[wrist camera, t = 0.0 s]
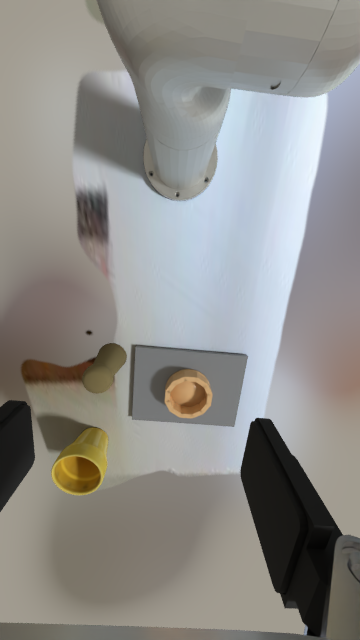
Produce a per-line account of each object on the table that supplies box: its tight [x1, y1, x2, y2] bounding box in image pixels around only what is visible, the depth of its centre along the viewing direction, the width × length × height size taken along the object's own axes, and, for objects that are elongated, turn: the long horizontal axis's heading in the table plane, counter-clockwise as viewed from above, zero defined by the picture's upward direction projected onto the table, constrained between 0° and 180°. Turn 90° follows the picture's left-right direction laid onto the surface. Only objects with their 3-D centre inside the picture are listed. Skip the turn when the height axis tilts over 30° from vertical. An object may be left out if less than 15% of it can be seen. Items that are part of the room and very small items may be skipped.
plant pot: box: [51, 427, 108, 495], centre depth 49 cm, size 10×10×10 cm
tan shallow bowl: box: [165, 369, 213, 418], centre depth 48 cm, size 10×10×3 cm
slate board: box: [132, 345, 248, 427], centre depth 50 cm, size 18×24×1 cm
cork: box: [82, 343, 127, 393], centre depth 43 cm, size 6×6×11 cm
